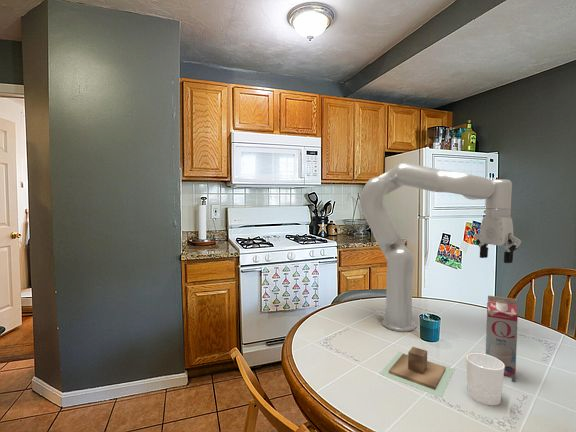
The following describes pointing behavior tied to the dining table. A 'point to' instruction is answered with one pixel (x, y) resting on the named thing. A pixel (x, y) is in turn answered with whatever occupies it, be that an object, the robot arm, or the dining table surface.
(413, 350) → the lid
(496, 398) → the white cup
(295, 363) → the dining table surface
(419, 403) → the dining table surface
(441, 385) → the mat
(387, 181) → the robot arm
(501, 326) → the juice carton
